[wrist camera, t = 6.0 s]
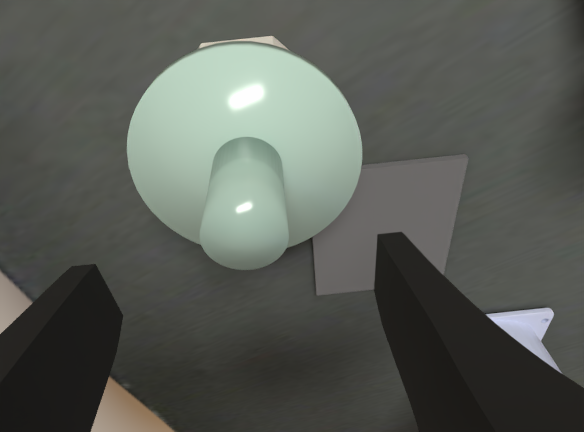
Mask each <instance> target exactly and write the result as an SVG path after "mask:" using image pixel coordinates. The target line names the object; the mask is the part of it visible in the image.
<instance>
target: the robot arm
mask: <svg viewBox="0 0 584 432" xmlns="http://www.w3.org/2000/svg"><path fill="white" fill-rule="evenodd" d="M374 291H375V296H376V300H377V305H378V309H379V313H380V317H381V321H382V325H383V328H384V331H385V334H386V337H387V340H388V342H389V345H390V348H391V351H392V354H393V357H394V359H395V362H396V365H397V368H398V370H399V373H400V376H401V379H402V382H403V384H404V387H405V390H406V393H407V395H408V398H409V401H410V404H411V407H412V410H413V413H414V416H415V419H416V422H417V426H418V429H419V432H584V388H583V387H581V386H580V385H578V384H577V383H575V382H574V381H572V380H571V379H569V378H568V377H566V376H565V375H563V374H562V373H561V371H560V370H559V368H558V367H557V365H556V364H555V362H554V361H553V359H552V358H551V356H550V355H549V353H548V351H547V350H546V348H545V347H544V345H543V344H542V342H541V340H542V338H543V336H544V334H545V332H546V330H547V328H548V326H549V324H550V322H551V320H552V318H553V316H554V313H553V311H552V310H551V309H550V308H539V309H529V310H520V311H511V312H501V313H492V314H484V313H483V312H482V311H481V310H480V309H479V308H477V307H476V306H475V305H474V304H473V303H472V302H471V301H470V300H469V299H468V298H466V297H465V296H464V295H463V294H462V293H461V292H460V291H459V290H458V289H457V288H456V287H455V286H454V285H453V284H452V283H451V282H450V281H449V280H448V279H447V278H446V277H445V276H444V275H443V274H442V273H441V272H440V271H439V270H438V269H437V268H436V267H435V266H434V265H433V264H432V263H431V262H430V261H429V260H428V259H427V258H426V257H425V256H424V255H423V254H422V253H421V252H420V250H419V249H418V248H417V247H416V246H415V245H414V244H413V243H412V242H411V241H410V240H409V238H408V237H407V236H406V235H405V234H404V233H402V232H394V233H384V234H377V250H376V266H375V282H374ZM122 319H123V314H122V313H121V311H120V309H119V307H118V305H117V303H116V301H115V300H114V298H113V296H112V294H111V292H110V290H109V288H108V286H107V285H106V283H105V281H104V279H103V277H102V275H101V273H100V272H99V270H98V268H97V266H96V264H91V265H81V266H72V267H71V268H69V269H68V270H67V271H66V272H65V273H64V274H63V275H62V276H60V277H59V278H58V279H57V280H56V281H55V282H54V283H53V284H52V285H51V286H50V287H49V288H48V289H47V290H46V291H45V292H44V293H43V294H42V295H41V296H40V297H39V298H38V299H37V300H36V301H34V302H33V303H32V305H30V306H29V307H28V308H27V309H26V310H25V311H24V312H23V313H22V314H21V315H20V316H19V317H18V318H17V319H16V320H15V321H14V322H13V323H12V324H11V325H10V326H9V327H7V328H6V329H5V330H4V331H3V332H2V333H1V334H0V432H91V428H92V426H93V423H94V419H95V416H96V414H97V410H98V407H99V404H100V401H101V399H102V396H103V393H104V390H105V387H106V383H107V380H108V377H109V374H110V371H111V368H112V365H113V362H114V359H115V355H116V352H117V347H118V342H119V337H120V331H121V325H122Z"/></svg>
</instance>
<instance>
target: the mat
mask: <svg viewBox="0 0 584 432" xmlns="http://www.w3.org/2000/svg"><path fill="white" fill-rule="evenodd" d="M467 163H468V157H467V156H466V154H461V155H452V156H442V157H433V158H423V159H414V160H404V161H395V162H385V163H376V164H366V165H361V172H360V176H359V179H358V183H357V186H356V188H355V190H354V193H353V195H352V197H351V199H350V200H349V202H348V203H347V205H346V207H345V208H344V209H343V210H342V212H341V213H340V214H339V215H338V217H337V218H336V219H335V220H333V221H332V222H331V223H330V224H329V225H328V226H327V227H326V228H324V229H323V230H322V231H320V232H319V233H318V234H316V235H314V236H313V237H312V241H313V255H314V270H315V285H316V295H327V294H336V293H346V292H355V291H364V290H374V282H375V266H376V250H377V234H384V233H394V232H402V233H404V234H405V235H406V236H407V237H408V238H409V240H410V241H411V242H412V243H413V244H414V245H415V246H416V247H417V248H418V249H419V250H420V252H421V253H422V254H423V255H424V256H425V257H426V258H427V259H428V260H429V261H430V262H431V263H432V264H433V265H434V266H435V267H436V268H437V269H438V270H439V271H440V272H441V273H442V274H443V275H444V270H445V265H446V261H447V256H448V251H449V247H450V242H451V237H452V233H453V228H454V223H455V219H456V214H457V209H458V205H459V200H460V195H461V191H462V186H463V181H464V177H465V172H466V167H467Z"/></svg>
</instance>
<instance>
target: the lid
mask: <svg viewBox="0 0 584 432" xmlns="http://www.w3.org/2000/svg"><path fill="white" fill-rule="evenodd" d="M127 155H128V164H129V168H130V172H131V176H132V179H133V181H134V183H135V186H136V188H137V190H138V192H139V194H140V195H141V197H142V199H143V200H144V202H145V203H146V204H147V206H148V207H149V208H150V210H151V211H152V212H153V213H154V214H155V215H156V216H157V217H158V218H159V219H160V220H161V221H162V222H163V223H164V224H166V225H167V226H168V227H169V228H171V229H172V230H173V231H175V232H177V233H178V234H180V235H181V236H183V237H185V238H187V239H189V240H191V241H193V242H195V243H197V244H200V245H202V247H203V249H204V251H205V252H206V254H207V255H208V256H209V257H210V258H211V259H213V260H214V261H215V262H217V263H219V264H221V265H223V266H225V267H228V268H232V269H238V270H252V269H258V268H262V267H265V266H267V265H269V264H271V263H273V262H274V261H276V260H277V259H278V258H279V257H280V256H281V255H282V254H283V253H284V251H285V249H286V248H288V247H291V246H294V245H297V244H299V243H301V242H303V241H305V240H308V239H309V238H311V237H313V236H314V235H316V234H318V233H319V232H320V231H322V230H323V229H324V228H326V227H327V226H328V225H329V224H330V223H331V222H332V221H333V220H335V219H336V218H337V217H338V215H339V214H340V213H341V212H342V210H343V209H344V208H345V207H346V205H347V203H348V202H349V200H350V199H351V197H352V195H353V193H354V190H355V188H356V186H357V183H358V179H359V176H360V172H361V165H362V143H361V137H360V132H359V129H358V125H357V122H356V119H355V117H354V115H353V113H352V111H351V109H350V106H349V104H348V102H347V100H346V98H345V97H344V95H343V94H342V92H341V91H340V89H339V88H338V86H337V85H336V84H335V83H334V82H333V81H332V80H331V78H330V77H329V76H328V75H327V74H326V73H325V72H323V71H322V70H321V69H320V68H319V67H317V66H316V65H315V64H314V63H312V62H310V61H309V60H307V59H305V58H304V57H302V56H301V55H299V54H296V53H294V52H292V51H289V50H287V49H285V48H282V47H278V46H275V45H271V44H267V43H260V42H253V41H230V42H223V43H216V44H212V45H209V46H205V47H202V48H199V49H197V50H194V51H192V52H190V53H188V54H186V55H184V56H182V57H180V58H179V59H177V60H176V61H174V62H173V63H171V64H170V65H169V66H168V67H167V68H165V69H164V70H163V71H162V72H161V73H160V74H159V75H158V76H157V77H156V78H155V80H154V81H153V82H152V83H151V84H150V86H149V87H148V89H147V90H146V92H145V93H144V95H143V97H142V98H141V100H140V102H139V104H138V105H137V107H136V109H135V112H134V114H133V117H132V119H131V122H130V127H129V132H128V138H127Z"/></svg>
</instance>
